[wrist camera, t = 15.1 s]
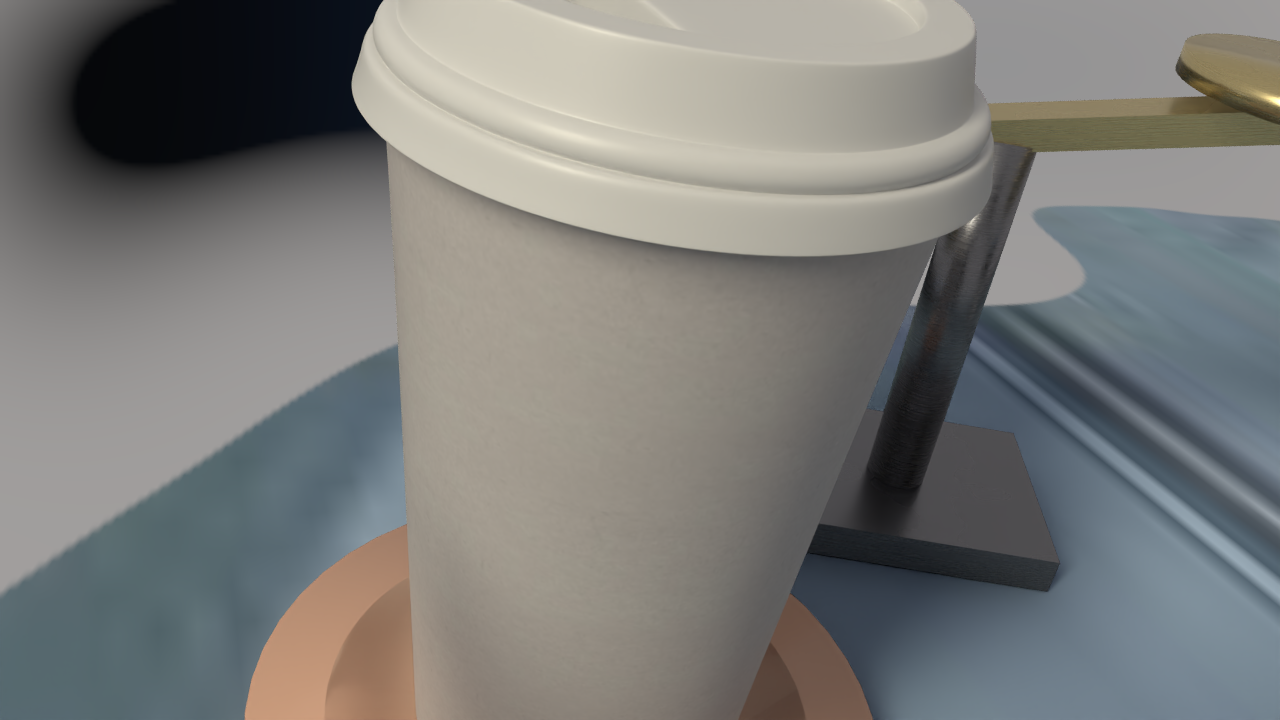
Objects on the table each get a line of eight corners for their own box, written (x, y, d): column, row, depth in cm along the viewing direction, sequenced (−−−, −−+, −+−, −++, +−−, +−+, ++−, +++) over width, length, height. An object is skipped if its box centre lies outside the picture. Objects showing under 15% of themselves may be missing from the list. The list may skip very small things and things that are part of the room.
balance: (1177, 488, 36) (1388, 55, 29) (1250, 624, 31) (1527, 139, 24) (571, 387, 36) (637, -75, 29) (543, 508, 31) (616, -17, 24)
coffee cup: (386, 527, 28) (419, -138, 20) (778, 574, 29) (953, -52, 21) (279, 887, 20) (268, 6, 12) (828, 941, 21) (1143, 139, 13)
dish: (844, 570, 31) (852, 547, 30) (907, 1091, 20) (921, 1065, 19) (350, 489, 30) (350, 465, 30) (127, 969, 19) (124, 940, 19)
